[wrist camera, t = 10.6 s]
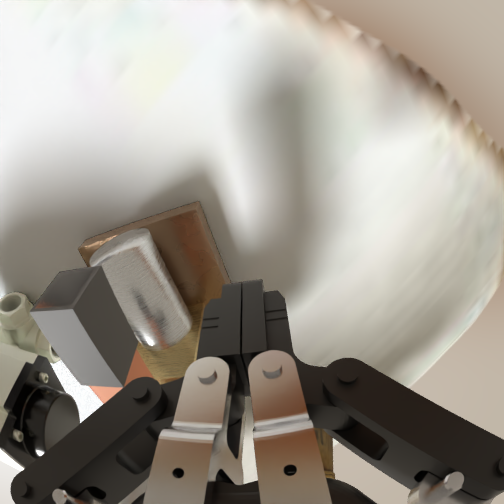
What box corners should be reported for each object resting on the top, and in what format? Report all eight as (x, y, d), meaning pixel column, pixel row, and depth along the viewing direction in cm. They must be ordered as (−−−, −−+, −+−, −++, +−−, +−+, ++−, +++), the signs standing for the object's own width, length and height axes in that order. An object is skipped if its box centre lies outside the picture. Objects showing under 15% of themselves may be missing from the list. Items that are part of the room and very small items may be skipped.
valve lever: (198, 429, 18) (195, 464, 16) (156, 428, 18) (150, 461, 16) (109, 263, 11) (81, 308, 9) (53, 272, 11) (23, 312, 9)
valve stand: (270, 377, 30) (276, 460, 22) (184, 390, 31) (173, 466, 23) (199, 200, 20) (167, 286, 12) (86, 239, 22) (22, 319, 13)
